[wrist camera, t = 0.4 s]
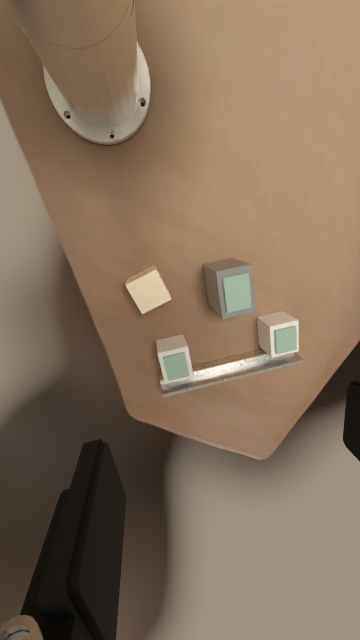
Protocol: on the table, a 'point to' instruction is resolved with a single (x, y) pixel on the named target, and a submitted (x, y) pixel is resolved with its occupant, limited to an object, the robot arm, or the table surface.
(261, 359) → the rail
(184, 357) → the mounted modules
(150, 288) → the cream cube
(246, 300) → the block
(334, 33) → the table surface
